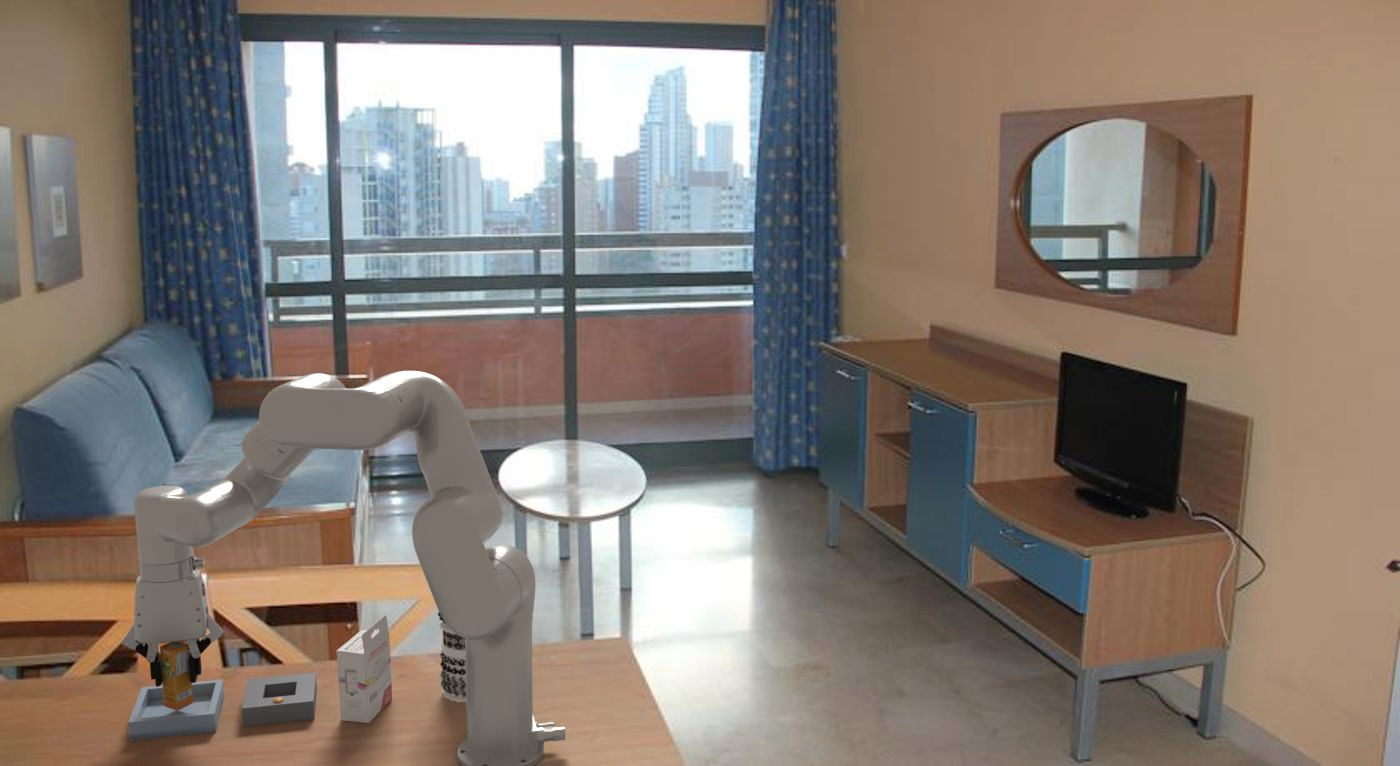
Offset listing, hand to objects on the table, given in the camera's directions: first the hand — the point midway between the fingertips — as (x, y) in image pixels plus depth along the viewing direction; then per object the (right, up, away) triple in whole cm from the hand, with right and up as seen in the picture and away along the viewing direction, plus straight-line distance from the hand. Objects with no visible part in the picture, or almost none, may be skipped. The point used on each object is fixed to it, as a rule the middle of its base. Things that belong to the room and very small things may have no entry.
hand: (177, 679), depth 186 cm
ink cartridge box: (+28, -6, +5) cm, 29 cm away
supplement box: (0, -4, +1) cm, 4 cm away
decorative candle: (+42, -5, +12) cm, 44 cm away
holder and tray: (+7, -6, +3) cm, 10 cm away
